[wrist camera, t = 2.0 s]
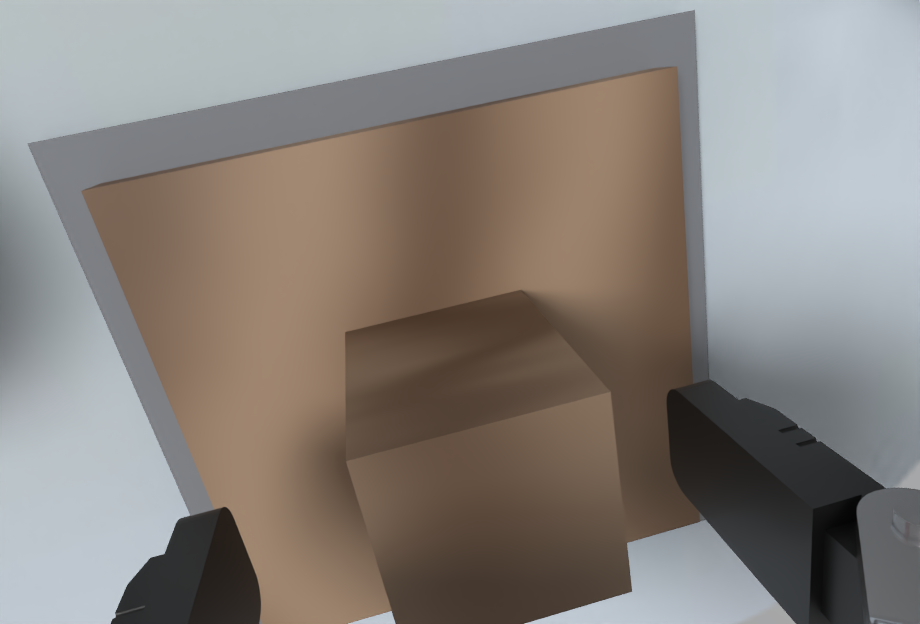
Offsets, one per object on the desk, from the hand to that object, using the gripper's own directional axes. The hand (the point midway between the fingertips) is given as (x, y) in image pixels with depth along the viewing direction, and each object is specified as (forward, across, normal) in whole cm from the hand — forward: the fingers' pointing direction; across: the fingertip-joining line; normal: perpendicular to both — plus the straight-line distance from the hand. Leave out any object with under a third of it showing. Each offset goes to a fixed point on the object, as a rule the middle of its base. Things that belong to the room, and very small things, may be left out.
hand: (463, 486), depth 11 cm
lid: (+4, 0, 0) cm, 5 cm away
